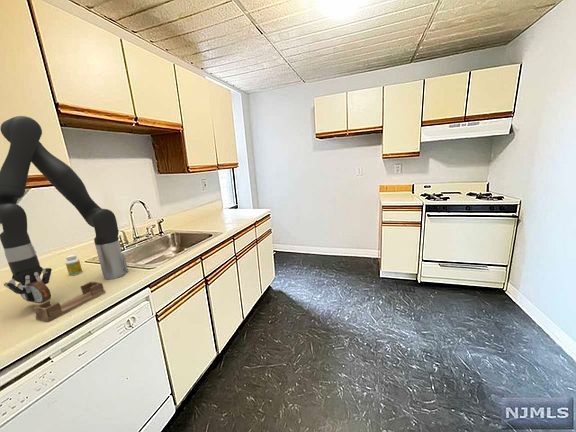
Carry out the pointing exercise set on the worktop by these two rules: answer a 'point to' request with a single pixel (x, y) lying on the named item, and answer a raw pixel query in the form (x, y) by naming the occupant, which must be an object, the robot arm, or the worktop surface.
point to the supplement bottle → (73, 265)
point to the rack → (68, 302)
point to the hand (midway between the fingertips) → (37, 298)
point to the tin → (38, 292)
